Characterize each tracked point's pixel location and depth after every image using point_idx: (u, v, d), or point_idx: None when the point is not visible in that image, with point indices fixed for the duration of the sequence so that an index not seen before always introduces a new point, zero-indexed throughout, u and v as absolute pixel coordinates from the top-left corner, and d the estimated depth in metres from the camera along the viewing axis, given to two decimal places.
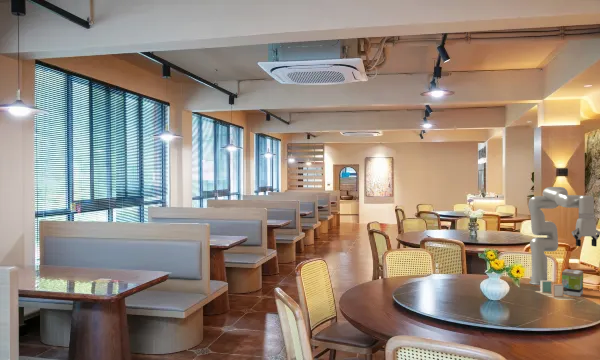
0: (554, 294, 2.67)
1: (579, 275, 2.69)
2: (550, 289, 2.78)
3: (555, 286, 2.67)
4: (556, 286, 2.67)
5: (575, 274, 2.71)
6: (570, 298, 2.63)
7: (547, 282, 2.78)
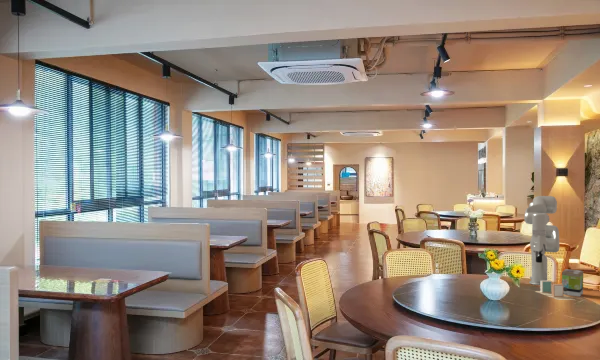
0: (554, 294, 2.67)
1: (579, 275, 2.69)
2: (550, 289, 2.78)
3: (555, 286, 2.67)
4: (556, 286, 2.67)
5: (575, 274, 2.71)
6: (570, 298, 2.63)
7: (547, 282, 2.78)
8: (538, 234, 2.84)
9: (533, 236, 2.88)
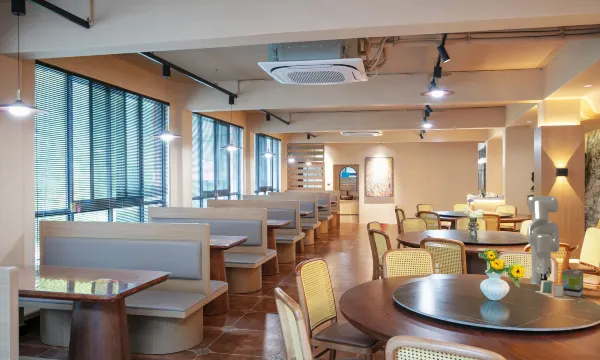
0: (554, 294, 2.67)
1: (579, 275, 2.69)
2: (550, 289, 2.78)
3: (555, 286, 2.67)
4: (556, 286, 2.67)
5: (575, 274, 2.71)
6: (570, 298, 2.63)
7: (548, 282, 2.77)
8: (543, 256, 2.79)
9: (538, 258, 2.83)
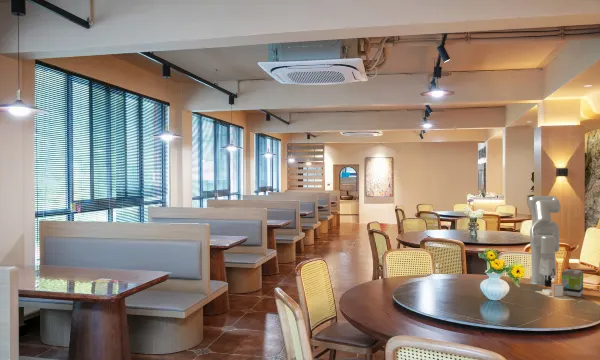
0: (554, 294, 2.67)
1: (579, 275, 2.69)
2: None
3: (555, 286, 2.67)
4: (556, 286, 2.67)
5: (575, 274, 2.71)
6: (570, 298, 2.63)
7: None
8: (547, 258, 2.75)
9: (542, 259, 2.79)
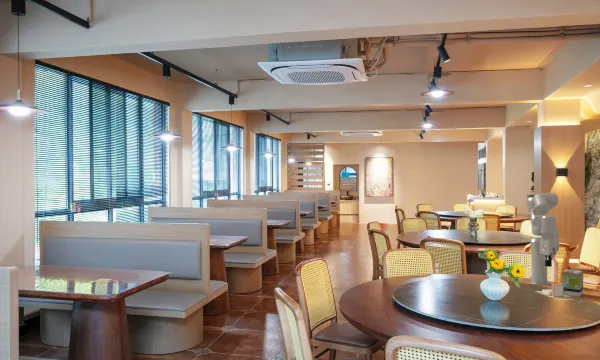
0: (554, 294, 2.67)
1: (579, 275, 2.69)
2: None
3: (555, 286, 2.67)
4: (556, 286, 2.67)
5: (575, 274, 2.71)
6: (570, 298, 2.63)
7: None
8: (547, 237, 2.75)
9: (542, 239, 2.79)
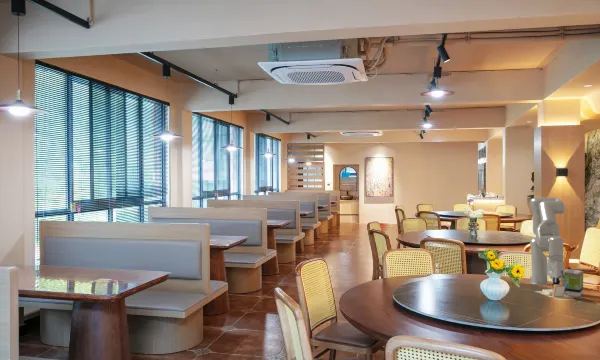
0: (554, 294, 2.67)
1: (579, 275, 2.69)
2: None
3: (557, 287, 2.66)
4: (558, 287, 2.66)
5: (575, 274, 2.71)
6: (570, 298, 2.63)
7: None
8: (555, 259, 2.67)
9: (550, 261, 2.71)
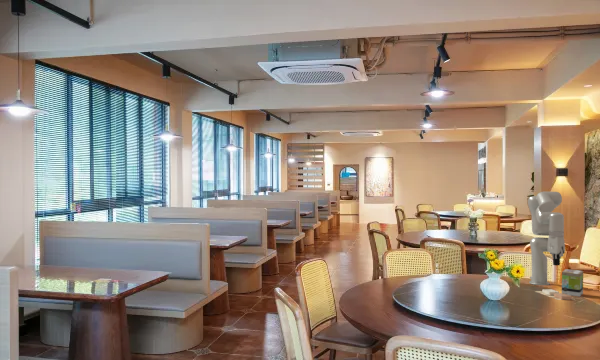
0: (556, 297, 2.65)
1: (579, 275, 2.69)
2: None
3: None
4: None
5: (575, 274, 2.71)
6: None
7: (553, 294, 2.72)
8: (556, 235, 2.67)
9: (550, 237, 2.72)
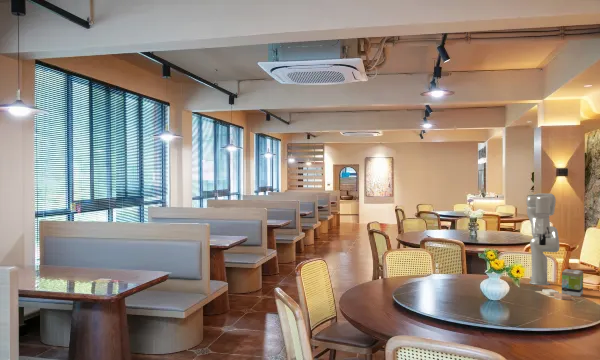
0: (556, 297, 2.65)
1: (579, 275, 2.69)
2: None
3: None
4: None
5: (575, 274, 2.71)
6: None
7: (553, 294, 2.72)
8: (542, 217, 2.85)
9: (537, 219, 2.90)
